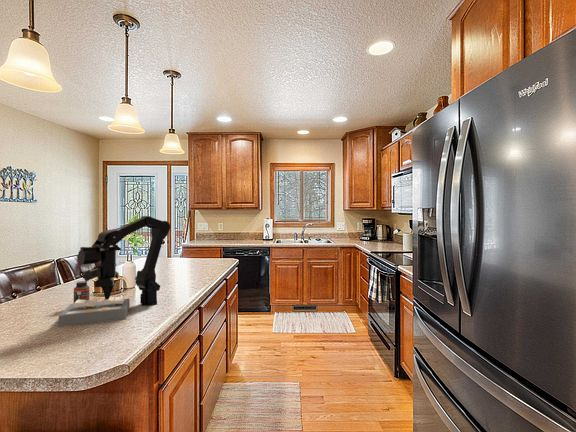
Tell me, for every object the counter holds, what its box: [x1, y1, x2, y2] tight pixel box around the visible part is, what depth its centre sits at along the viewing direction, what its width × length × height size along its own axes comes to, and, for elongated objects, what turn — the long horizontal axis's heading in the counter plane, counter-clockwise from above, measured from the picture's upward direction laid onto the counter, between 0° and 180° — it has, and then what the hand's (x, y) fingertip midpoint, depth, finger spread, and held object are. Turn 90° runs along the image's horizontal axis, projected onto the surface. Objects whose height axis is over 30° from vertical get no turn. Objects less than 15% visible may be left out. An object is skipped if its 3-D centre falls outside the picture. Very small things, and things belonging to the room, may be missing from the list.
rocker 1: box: [73, 299, 98, 307], centre depth 124 cm, size 7×5×1 cm
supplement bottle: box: [73, 280, 91, 304], centre depth 137 cm, size 6×6×11 cm
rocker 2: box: [103, 296, 125, 304], centre depth 127 cm, size 7×5×1 cm
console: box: [58, 298, 131, 327], centre depth 125 cm, size 22×16×5 cm
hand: (107, 299), depth 126 cm, fingers closed, pressing on rocker 2
